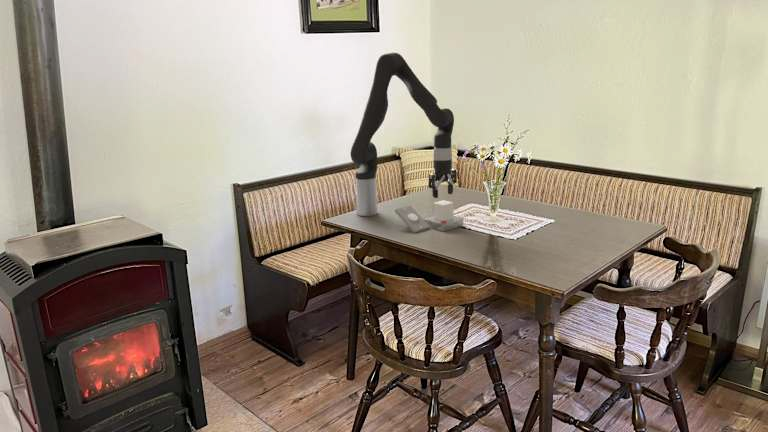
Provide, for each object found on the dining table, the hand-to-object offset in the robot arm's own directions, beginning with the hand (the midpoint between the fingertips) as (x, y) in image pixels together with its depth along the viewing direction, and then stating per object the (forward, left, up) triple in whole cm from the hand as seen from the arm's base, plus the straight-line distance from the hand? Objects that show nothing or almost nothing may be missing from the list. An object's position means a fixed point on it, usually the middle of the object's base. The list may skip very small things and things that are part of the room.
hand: (442, 195), depth 246 cm
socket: (0, 0, -13) cm, 13 cm away
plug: (0, 0, -12) cm, 12 cm away
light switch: (-7, -11, -13) cm, 19 cm away
